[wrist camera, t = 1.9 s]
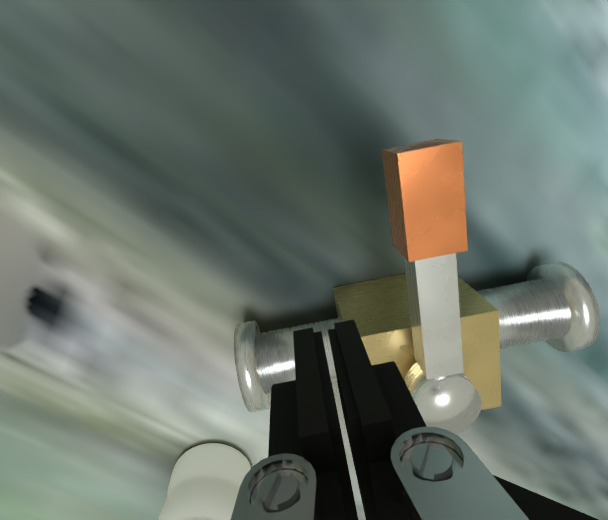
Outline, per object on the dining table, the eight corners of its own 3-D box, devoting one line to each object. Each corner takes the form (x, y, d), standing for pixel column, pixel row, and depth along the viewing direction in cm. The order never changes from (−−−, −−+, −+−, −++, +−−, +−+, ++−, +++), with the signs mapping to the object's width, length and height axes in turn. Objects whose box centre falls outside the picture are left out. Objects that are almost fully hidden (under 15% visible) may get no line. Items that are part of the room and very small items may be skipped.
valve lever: (373, 151, 20) (388, 155, 17) (445, 137, 20) (470, 139, 17) (405, 409, 25) (420, 443, 22) (462, 398, 25) (484, 431, 22)
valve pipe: (238, 305, 31) (223, 369, 23) (540, 247, 31) (631, 290, 23) (258, 379, 34) (251, 461, 26) (539, 325, 33) (622, 390, 25)
